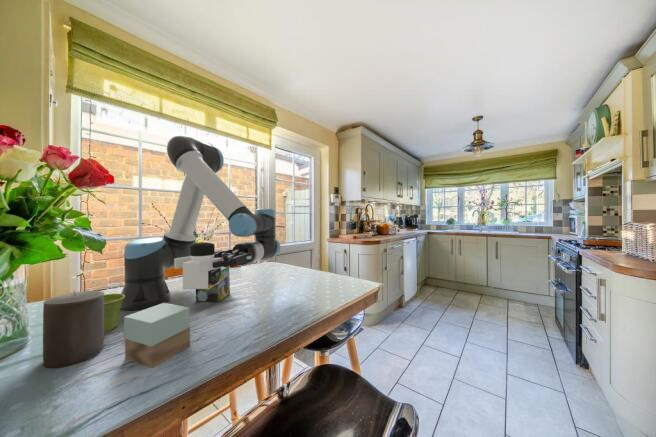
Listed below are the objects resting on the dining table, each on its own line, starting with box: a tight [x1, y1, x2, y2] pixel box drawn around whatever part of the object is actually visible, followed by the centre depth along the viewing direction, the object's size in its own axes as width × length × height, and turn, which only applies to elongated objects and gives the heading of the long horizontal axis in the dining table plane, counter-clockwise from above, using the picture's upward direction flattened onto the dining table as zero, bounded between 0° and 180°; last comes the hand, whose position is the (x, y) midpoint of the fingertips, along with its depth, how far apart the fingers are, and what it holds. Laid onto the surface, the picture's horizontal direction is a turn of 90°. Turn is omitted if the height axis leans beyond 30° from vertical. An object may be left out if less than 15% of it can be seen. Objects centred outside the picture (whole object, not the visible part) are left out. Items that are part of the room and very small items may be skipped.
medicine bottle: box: [182, 242, 221, 290], centre depth 66 cm, size 7×7×12 cm
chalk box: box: [195, 266, 231, 303], centre depth 92 cm, size 9×9×15 cm
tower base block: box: [124, 326, 191, 368], centre depth 56 cm, size 9×9×5 cm
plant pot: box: [104, 293, 125, 333], centre depth 67 cm, size 9×9×9 cm
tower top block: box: [123, 302, 190, 346], centre depth 56 cm, size 9×9×5 cm
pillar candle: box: [42, 290, 105, 369], centre depth 55 cm, size 10×10×15 cm
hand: (187, 265), depth 62 cm, fingers closed on medicine bottle, 9 cm apart
